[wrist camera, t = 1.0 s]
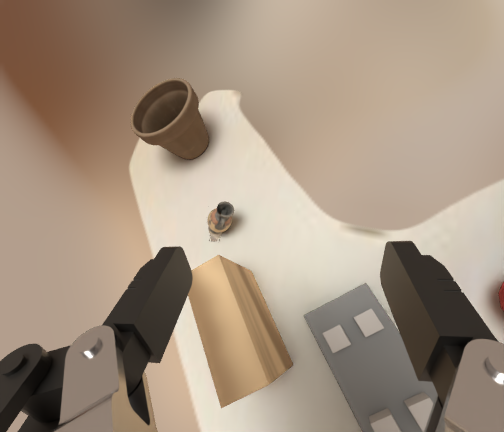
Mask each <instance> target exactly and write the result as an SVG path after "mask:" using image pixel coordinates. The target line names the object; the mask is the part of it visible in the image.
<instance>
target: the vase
mask: <svg viewBox="0 0 504 432" xmlns="http://www.w3.org/2000/svg"><path fill="white" fill-rule="evenodd" d="M208 207H209V206H208ZM233 213H234V208H233V206H232V205H231V204H230V203H229V202H221V203H219V204H218V206H217V208H216V209H214V210H212V211H211V212H210V214H209V216H208V225H209V233H210V236H211V237H210V238H211V241H213V240H214V241H215V240H216V241H218V238H221V236H222V232H224V231H226V230H227V229H228V228H229V227H230V225H231V222H232V217H231V216H232V215H233ZM230 229H231V228H230ZM220 235H221V236H220ZM209 241H210V240H209ZM219 241H220V239H219Z"/></svg>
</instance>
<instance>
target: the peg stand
mask: <svg viewBox="0 0 504 432" xmlns="http://www.w3.org/2000/svg"><path fill="white" fill-rule="evenodd" d="M304 317H305V319H306V321H307V323H308V325H309V327H310V329H311V331H312V333H313V335H314V337H315V339H316V341H317V343H318V345H319V347H320V349H321V351H322V353H323V355H324V357H325V358H326V360H327V362H328V364H329V366H330V368H331V370H332V372H333V374H334V376H335V378H336V380H337V382H338V384H339V386H340V388H341V390H342V392H343V394H344V396H345V398H346V400H347V402H348V404H349V406H350V408H351V410H352V412H353V413H354V415H355V417H356V419H357V421H358V423H359V425H360V427H361V429H362V431H363V432H424V430H425V427H426V424H427V421H428V418H429V415H430V412H431V409H432V406H433V403H434V400H435V397H436V395H437V392H436V389H435V387H434V385H433V382H428V381H418V379H417V376H416V373H415V371H414V368H413V366H412V363H411V360H410V358H409V355H408V353H407V350H406V348H405V345H404V342H403V340H402V337H401V335H400V333H399V331H398V330H397V328H396V327H395V325H394V324H393V322H392V321H391V319H390V318H389V316H388V315H387V314H386V312H385V311H384V309H383V308H382V306H381V305H380V303H379V302H378V300H377V299H376V297H375V296H374V294H373V293H372V291H371V290H370V288H369V287H368V285H367V284H366V283H365V284H363V285H361V286H359V287H357V288H355V289H353V290H352V291H350V292H348V293H346V294H344V295H342V296H340V297H338V298H336V299H334V300H332V301H330V302H328V303H327V304H325V305H323V306H321V307H319V308H317V309H315V310H313V311H311V312H309V313H307V314H305V315H304Z"/></svg>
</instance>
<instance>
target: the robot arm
mask: <svg viewBox="0 0 504 432" xmlns="http://www.w3.org/2000/svg"><path fill="white" fill-rule="evenodd" d="M380 278H381V285H382V288H383V291H384V293H385V296H386V298H387V301H388V304H389V306H390V309H391V311H392V314H393V317H394V319H395V322H396V324H397V327H398V329H399V332H400V335H401V337H402V340H403V342H404V345H405V348H406V350H407V353H408V355H409V358H410V360H411V363H412V366H413V368H414V371H415V373H416V376H417V379H418V381H428V382H433V385H434V387H435V389H436V392H437V395H436V397H435V400H434V403H433V406H432V409H431V412H430V415H429V418H428V421H427V424H426V427H425V430H424V432H504V344H502V343H500V342H498V341H497V339H496V338H495V337H494V335H493V334H492V333H491V331H490V330H489V328H488V327H487V326H486V324H485V323H484V321H483V320H482V318H481V317H480V316H479V314H478V313H477V311H476V310H475V309H474V307H473V306H472V304H471V303H470V302H469V300H468V299H467V297H466V296H465V294H464V293H462V292H461V289H460V287H459V286H458V285H457V283H456V282H454V281H453V278H452V276H451V275H450V273H449V272H448V270H447V269H446V268H445V266H444V265H442V264H441V263H440V262H438V261H437V260H436V259H434V258H433V257H432V256H430V255H421V254H420V252H419V250H418V249H417V247H416V246H415V244H414V243H413V242H412V241H389V242H387V243H386V246H385V251H384V256H383V261H382V266H381V272H380ZM192 280H193V276H192V271H191V268H190V266H189V263H188V261H187V258H186V255H185V253H184V250H183V248H182V247H163V248H161V249H160V251H159V252H158V254H157V255H156V257H155V258H154V259H151V260H150V261H149V262H147V263H146V264H145V265H144V266H143V267H142V268H140V270H139V272H138V273H137V274H136V276H135V277H134V281H132V282H131V284H130V285H129V286H128V289H127V290H126V291H125V292H124V294H123V295H122V297H121V298H120V300H119V301H118V303H117V304H116V305H115V307H114V309H113V310H112V311H111V313H110V314H109V316H108V317H107V319H106V320H105V322H104V323H103V325H102V326H97V327H94V328H92V329H90V330H88V331H86V332H85V333H83V334H82V335H81V336H79V337H78V338H77V339H76V340H75V341H74V342H73V344H72V345H71V346H67V347H63V348H60V349H57V350H53V351H49V352H46V351H45V350H44V349H43V348H42V347H41V346H40V345H38V344H28V345H25V346H23V347H20V348H18V349H16V350H15V351H13V352H11V353H10V354H8V355H7V356H6V357H5V358H4V359H2V360H1V361H0V432H6V431H7V430H8V428H9V427H10V425H11V424H12V423H13V421H14V420H15V418H16V417H17V415H18V414H19V412H20V411H22V412H24V413H25V414H27V415H28V417H27V419H26V420H25V422H24V423H23V425H22V426H21V428H20V429H19V431H18V432H158V431H157V428H156V424H155V419H154V413H153V408H152V403H151V398H150V393H149V387H148V383H147V377H146V373H145V372H144V370H145V368H146V366H147V364H148V362H151V363H160V361H161V359H162V357H163V354H164V352H165V349H166V347H167V344H168V342H169V340H170V337H171V335H172V332H173V330H174V327H175V325H176V323H177V320H178V318H179V315H180V313H181V310H182V308H183V305H184V303H185V301H186V298H187V296H188V293H189V291H190V288H191V286H192Z"/></svg>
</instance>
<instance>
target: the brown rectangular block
mask: <svg viewBox="0 0 504 432" xmlns="http://www.w3.org/2000/svg"><path fill="white" fill-rule="evenodd" d="M192 276H193V280H192V286H191V288H190V291H189V293H188V296H189V300H190V303H191V307H192V310H193V313H194V317H195V320H196V324H197V327H198V330H199V334H200V337H201V341H202V344H203V348H204V351H205V354H206V358H207V361H208V365H209V368H210V372H211V375H212V378H213V382H214V385H215V389H216V392H217V395H218V399H219V402H220V406H221V408H223V407H225V406H227V405H229V404H231V403H233V402H235V401H237V400H239V399H241V398H243V397H245V396H247V395H249V394H251V393H253V392H255V391H257V390H259V389H261V388H263V387H265V386H267V385H269V384H270V383H272V382H273V381H274V380H275V379H277V378H278V377H279V376H280V375H282V374H283V373H284V372H285V371H286V370H288V369H289V368H290V367H291V366H293V363H292V361H291V359H290V356H289V354H288V352H287V350H286V347H285V345H284V343H283V341H282V338H281V336H280V334H279V332H278V329H277V327H276V325H275V323H274V320H273V318H272V316H271V314H270V311H269V309H268V307H267V305H266V302H265V300H264V298H263V296H262V293H261V291H260V289H259V287H258V284H257V282H256V280H255V278H254V275H253V273H252V271H250V270H248V269H246V268H244V267H242V266H240V265H238V264H236V263H234V262H232V261H230V260H228V259H226V258H224V257H222V256H220V255H217V256H216V257H214V258H212V259H211V260H209V261H207V262H205V263H204V264H202V265H200V266H199V267H197V268H195V269H193V270H192Z"/></svg>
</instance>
